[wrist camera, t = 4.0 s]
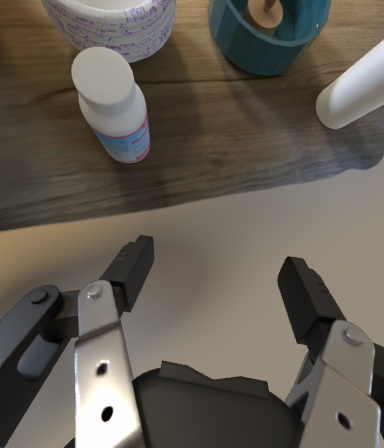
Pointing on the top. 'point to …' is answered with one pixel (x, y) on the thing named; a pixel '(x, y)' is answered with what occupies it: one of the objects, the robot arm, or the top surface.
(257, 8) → the wooden peg on disc
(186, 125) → the top surface
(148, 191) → the top surface
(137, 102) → the pill bottle
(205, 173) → the top surface
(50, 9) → the paper bowls
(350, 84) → the cylindrical container
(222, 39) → the bowl
